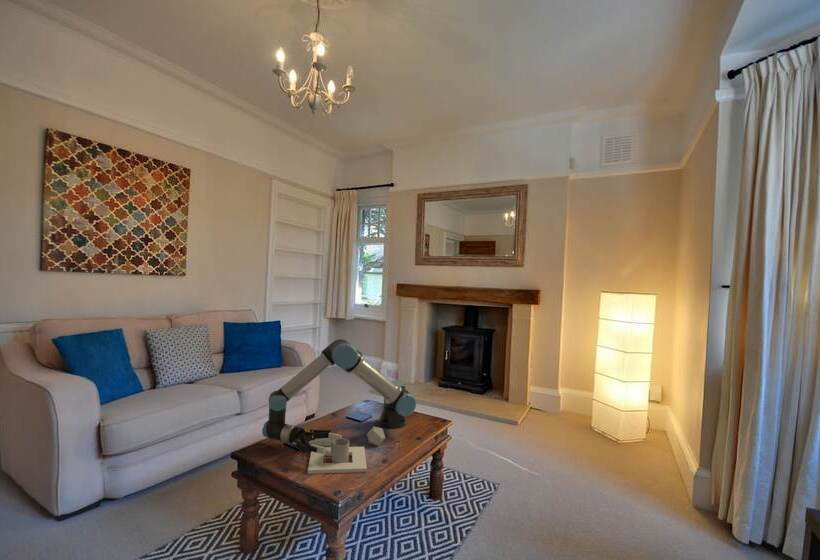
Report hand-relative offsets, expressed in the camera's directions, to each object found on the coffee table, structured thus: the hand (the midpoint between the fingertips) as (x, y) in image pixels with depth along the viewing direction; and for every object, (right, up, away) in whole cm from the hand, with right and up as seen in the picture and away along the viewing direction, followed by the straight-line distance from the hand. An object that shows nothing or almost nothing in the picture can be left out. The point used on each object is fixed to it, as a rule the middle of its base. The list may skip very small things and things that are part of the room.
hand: (333, 444), depth 161 cm
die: (+17, -8, +18) cm, 26 cm away
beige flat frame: (+2, -7, 0) cm, 7 cm away
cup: (+2, -7, -1) cm, 7 cm away
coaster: (-9, -6, +18) cm, 21 cm away
